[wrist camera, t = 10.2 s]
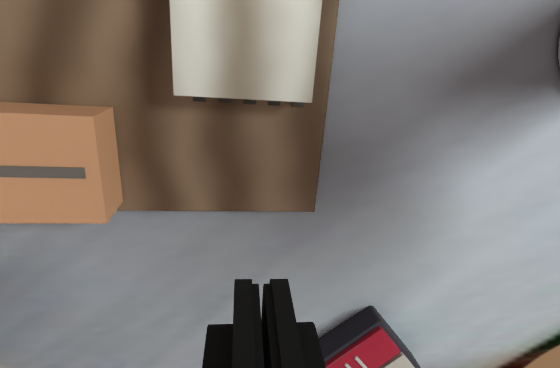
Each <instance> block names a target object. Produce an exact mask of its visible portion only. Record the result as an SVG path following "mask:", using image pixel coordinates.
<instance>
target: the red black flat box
mask: <svg viewBox="0 0 560 368" xmlns="http://www.w3.org/2000/svg"><path fill="white" fill-rule="evenodd" d="M319 343H320V347H321V351H322V354H323V358H324V362H325V366H326V368H421V367H420V366H419V364H418V363H417V361H416V360H415V358H414V357H413V355H412V354H411V352H410V351H409V350H408V349H407V347H406V346H405V345H404V344H403V342H402V341H401V340H400V339H399V337H398V336H397V335H396V334H395V333H394V331H393V330H392V329H391V328H390V326H389V325H388V324H387V323H386V321H385V320H384V319H383V318H382V317H381V315H380V314H379V313H378V312H377V310H376V309H375V308H374V307H373V306H368V307H367V308H365V309H364V310H362V311H360V312H359V313H357V314H356V315H354V316H353V317H351V318H350V319H348V320H346V321H345V322H343V323H342V324H340V325H339V326H337V327H336V328H334V329H333V330H331V331H330V332H328V333H327V334H325V335H324V336H322V337H321V338H319Z"/></svg>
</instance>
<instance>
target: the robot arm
mask: <svg viewBox="0 0 560 368" xmlns="http://www.w3.org/2000/svg"><path fill="white" fill-rule="evenodd" d="M558 58H559V66H560V38H559V47H558ZM202 368H326V366H325V362H324V358H323V354H322V351H321V347H320V343H319V339H318V335H317V331H316V328H315V325H314V323H313V322H296V318H295V313H294V308H293V303H292V298H291V293H290V288H289V282H288V279H270V284H264V286H263V301H262V318H261V312H260V297H259V284H252V279H235V285H234V315H233V324H216V325H208V327H207V334H206V342H205V350H204V358H203V366H202Z"/></svg>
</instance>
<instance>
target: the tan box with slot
mask: <svg viewBox="0 0 560 368" xmlns="http://www.w3.org/2000/svg"><path fill="white" fill-rule="evenodd" d="M122 202H123V196H122V187H121V178H120V169H119V159H118V150H117V141H116V132H115V123H114V113H113V107H98V106H77V105H56V104H35V103H15V102H0V223H108V221H109V220H110V218H111V217H112V216H113V214H114V213H115V212H116V210H117V209H118V207H119V206H120V205H121V203H122Z"/></svg>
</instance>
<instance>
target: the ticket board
mask: <svg viewBox="0 0 560 368" xmlns="http://www.w3.org/2000/svg"><path fill="white" fill-rule="evenodd" d="M338 6H339V0H0V102H15V103H35V104H56V105H77V106H98V107H113V113H114V123H115V132H116V141H117V150H118V159H119V169H120V178H121V187H122V196H123V202H122V203H121V205H120V206H119V207H118V209H117V210H164V211H303V212H314V211H315V202H316V194H317V185H318V177H319V168H320V160H321V151H322V143H323V134H324V126H325V117H326V109H327V100H328V92H329V83H330V75H331V66H332V58H333V49H334V40H335V32H336V23H337V15H338Z"/></svg>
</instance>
